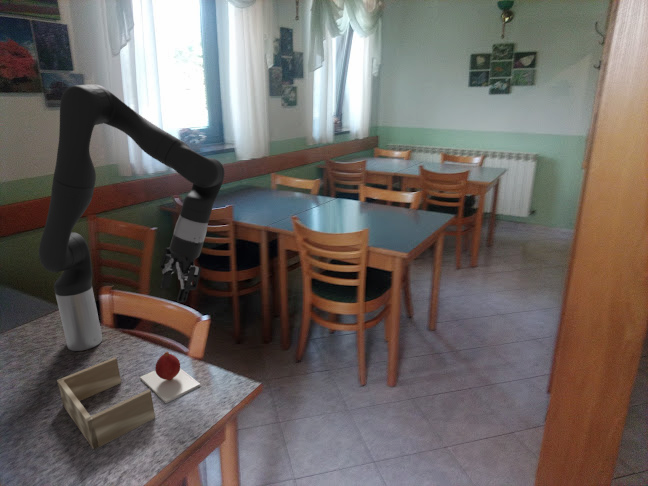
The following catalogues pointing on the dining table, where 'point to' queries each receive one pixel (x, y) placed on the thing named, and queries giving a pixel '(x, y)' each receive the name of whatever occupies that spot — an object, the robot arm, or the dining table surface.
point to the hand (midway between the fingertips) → (172, 294)
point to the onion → (167, 366)
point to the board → (170, 385)
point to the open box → (112, 419)
